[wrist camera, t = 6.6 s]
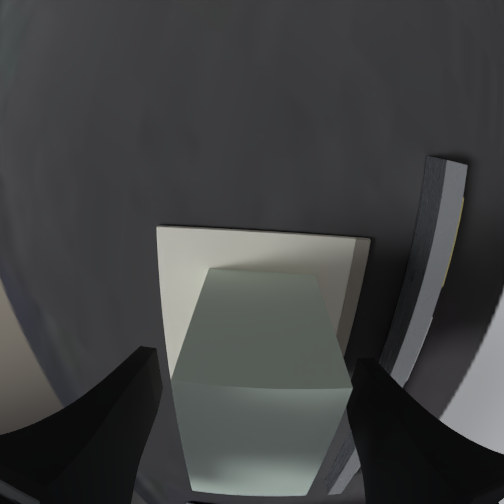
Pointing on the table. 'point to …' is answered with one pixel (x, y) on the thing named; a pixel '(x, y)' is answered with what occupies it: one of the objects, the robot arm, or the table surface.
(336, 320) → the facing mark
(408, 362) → the rail
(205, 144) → the table surface
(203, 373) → the sage carton
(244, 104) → the table surface
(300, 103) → the table surface
